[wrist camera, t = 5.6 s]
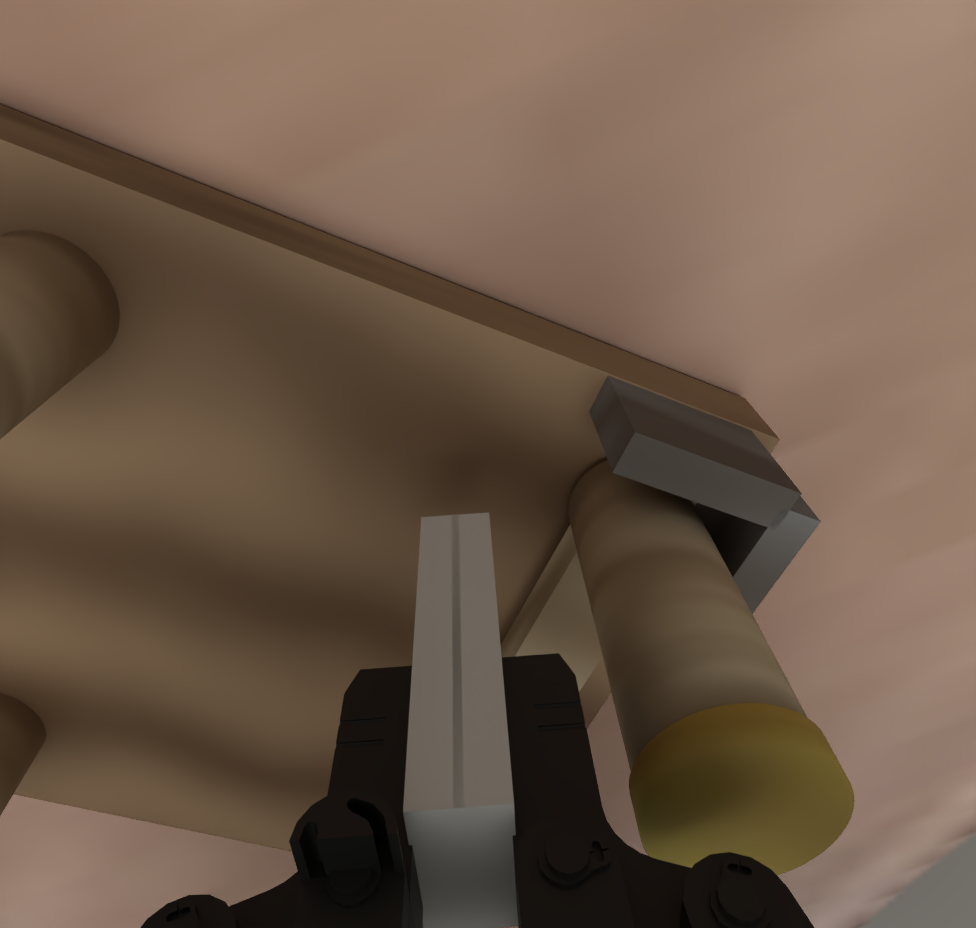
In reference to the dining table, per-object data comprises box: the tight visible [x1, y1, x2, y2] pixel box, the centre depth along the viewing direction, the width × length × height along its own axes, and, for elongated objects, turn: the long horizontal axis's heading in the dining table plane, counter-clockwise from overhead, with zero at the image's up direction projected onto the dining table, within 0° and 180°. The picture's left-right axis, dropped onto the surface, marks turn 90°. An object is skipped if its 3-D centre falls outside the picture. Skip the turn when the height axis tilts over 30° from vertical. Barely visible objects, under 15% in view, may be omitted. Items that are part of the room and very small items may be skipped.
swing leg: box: [501, 460, 854, 875], centre depth 17 cm, size 12×3×9 cm, turn 157°
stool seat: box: [0, 105, 821, 928], centre depth 18 cm, size 20×20×11 cm
